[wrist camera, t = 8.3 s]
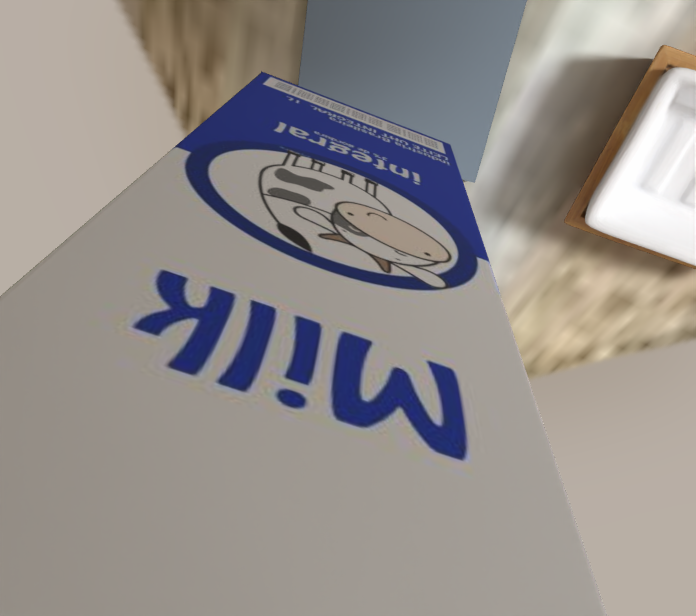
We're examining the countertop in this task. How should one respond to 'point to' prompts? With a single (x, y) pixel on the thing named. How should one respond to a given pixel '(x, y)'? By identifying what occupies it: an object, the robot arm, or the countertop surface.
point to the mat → (415, 64)
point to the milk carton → (278, 391)
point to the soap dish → (649, 167)
